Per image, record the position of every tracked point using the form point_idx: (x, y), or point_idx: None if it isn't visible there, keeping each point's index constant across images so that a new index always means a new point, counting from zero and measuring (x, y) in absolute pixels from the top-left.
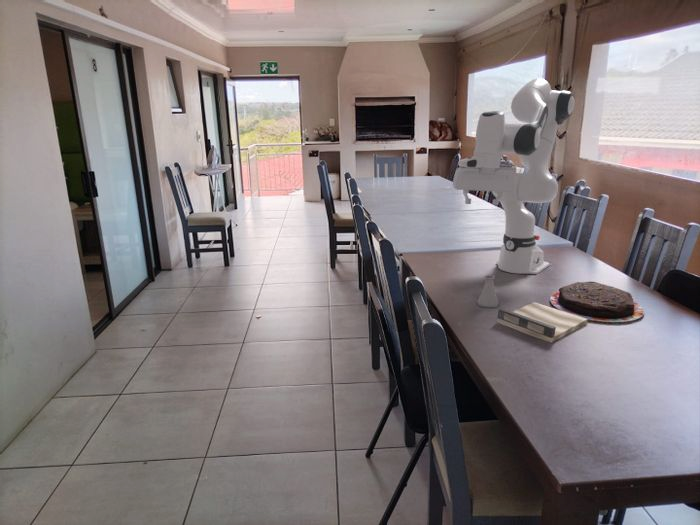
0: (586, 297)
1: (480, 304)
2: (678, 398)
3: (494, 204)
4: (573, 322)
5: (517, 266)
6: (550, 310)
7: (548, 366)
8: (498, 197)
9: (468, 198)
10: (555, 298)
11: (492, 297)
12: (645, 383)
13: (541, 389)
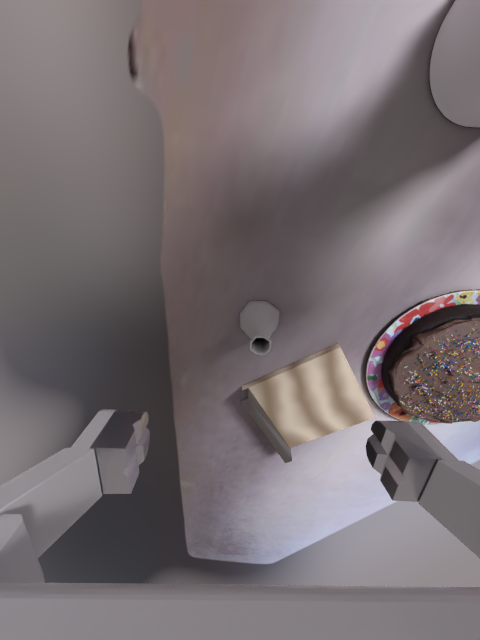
0: (423, 394)
1: (240, 328)
2: (328, 526)
3: (370, 456)
4: (345, 422)
5: (474, 105)
6: (342, 382)
7: (249, 477)
8: (459, 527)
9: (95, 497)
10: (399, 328)
11: (261, 339)
12: (321, 510)
13: (222, 501)
